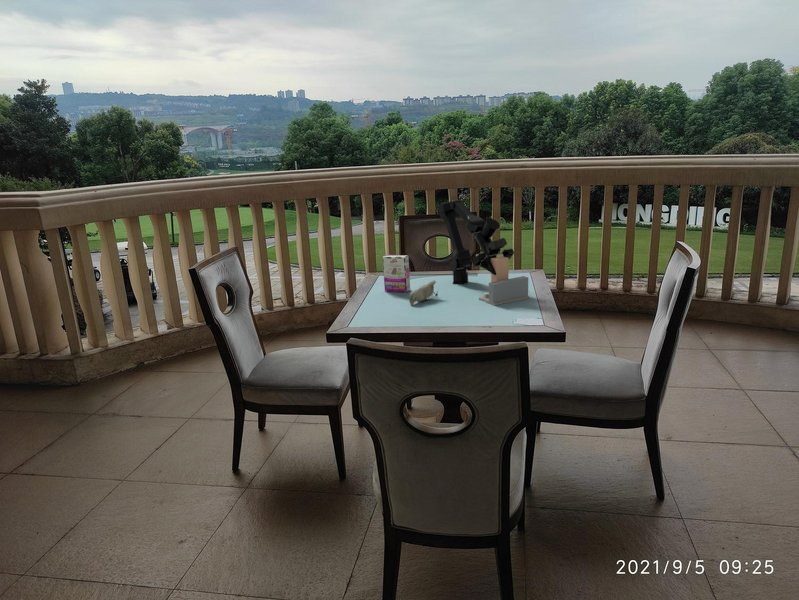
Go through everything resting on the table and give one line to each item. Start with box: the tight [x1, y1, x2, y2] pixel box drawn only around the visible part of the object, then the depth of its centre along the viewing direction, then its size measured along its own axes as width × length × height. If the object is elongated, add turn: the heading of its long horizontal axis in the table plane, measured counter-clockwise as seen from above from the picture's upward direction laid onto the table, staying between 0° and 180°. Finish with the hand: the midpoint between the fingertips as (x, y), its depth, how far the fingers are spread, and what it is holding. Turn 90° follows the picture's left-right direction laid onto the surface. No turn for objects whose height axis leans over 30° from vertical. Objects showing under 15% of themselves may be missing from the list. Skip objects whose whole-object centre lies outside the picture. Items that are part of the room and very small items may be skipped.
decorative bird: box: [408, 279, 439, 306], centre depth 231 cm, size 5×16×8 cm, turn 136°
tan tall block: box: [490, 254, 510, 283], centre depth 229 cm, size 4×6×15 cm, turn 117°
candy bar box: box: [382, 254, 411, 293], centre depth 247 cm, size 11×5×16 cm, turn 68°
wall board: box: [478, 275, 530, 306], centre depth 228 cm, size 11×18×9 cm, turn 117°
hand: (501, 273), depth 228 cm, fingers closed on tan tall block, 6 cm apart
